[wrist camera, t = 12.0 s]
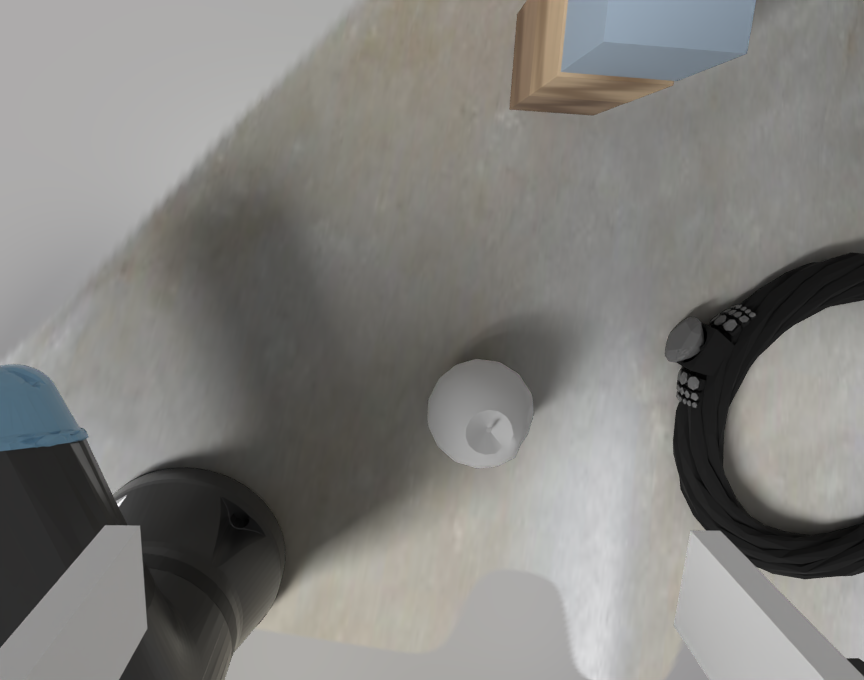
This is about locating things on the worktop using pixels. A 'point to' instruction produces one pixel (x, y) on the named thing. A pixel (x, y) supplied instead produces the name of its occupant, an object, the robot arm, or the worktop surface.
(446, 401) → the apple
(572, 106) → the tower lower block
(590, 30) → the slate block
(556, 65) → the tower upper block
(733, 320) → the ring
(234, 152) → the worktop surface
